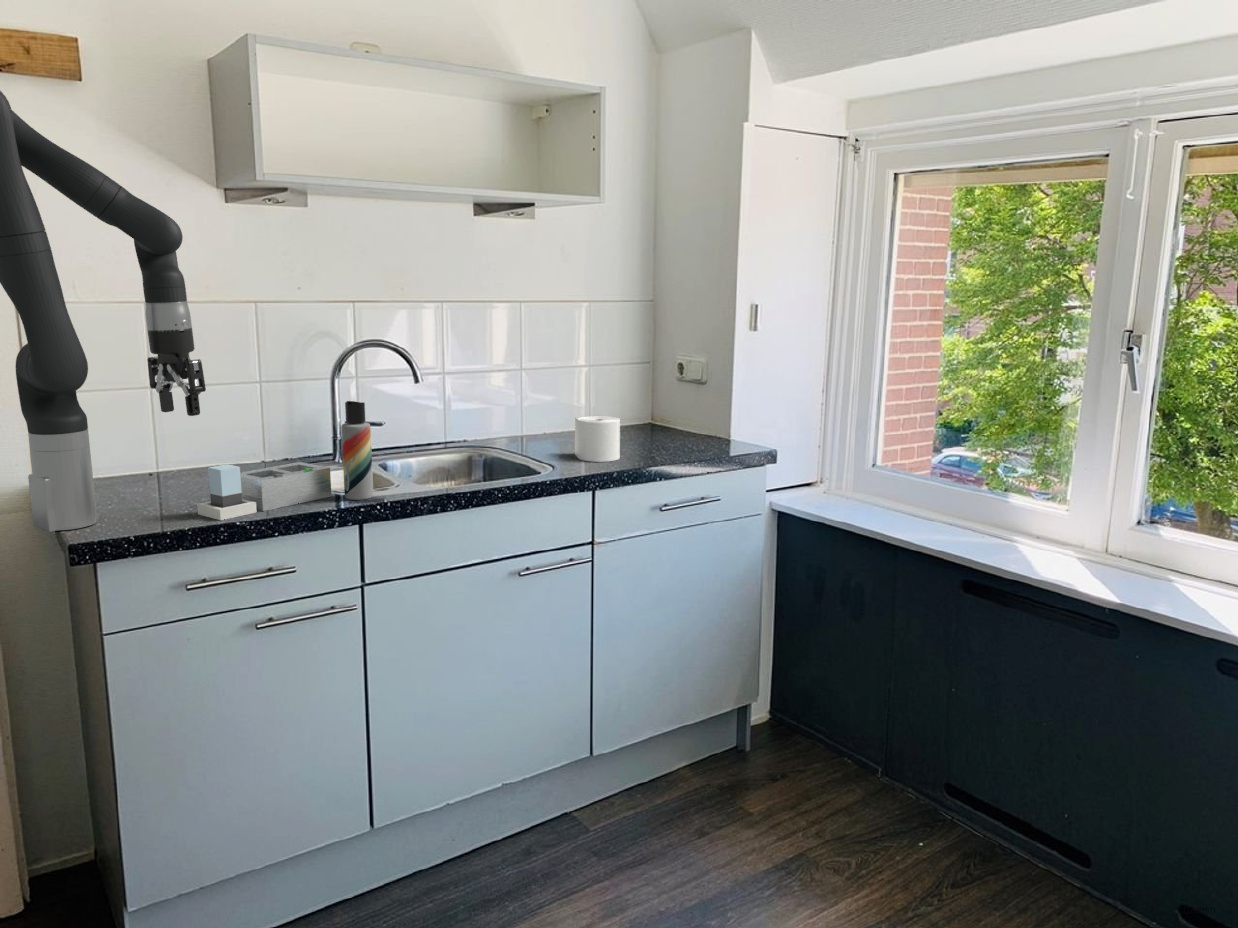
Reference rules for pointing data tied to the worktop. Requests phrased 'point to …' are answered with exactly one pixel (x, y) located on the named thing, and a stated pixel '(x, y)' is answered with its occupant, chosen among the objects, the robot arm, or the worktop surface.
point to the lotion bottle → (357, 453)
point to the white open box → (226, 510)
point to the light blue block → (225, 485)
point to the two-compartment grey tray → (285, 485)
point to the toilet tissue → (597, 438)
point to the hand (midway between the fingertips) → (180, 413)
